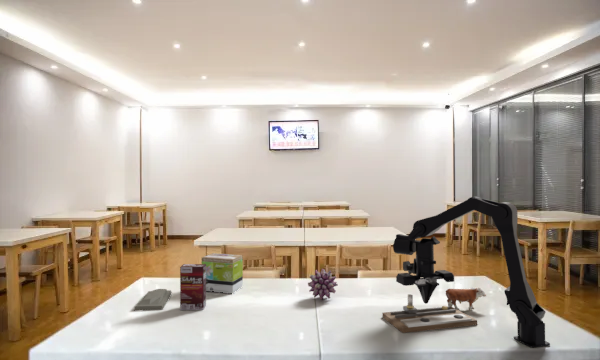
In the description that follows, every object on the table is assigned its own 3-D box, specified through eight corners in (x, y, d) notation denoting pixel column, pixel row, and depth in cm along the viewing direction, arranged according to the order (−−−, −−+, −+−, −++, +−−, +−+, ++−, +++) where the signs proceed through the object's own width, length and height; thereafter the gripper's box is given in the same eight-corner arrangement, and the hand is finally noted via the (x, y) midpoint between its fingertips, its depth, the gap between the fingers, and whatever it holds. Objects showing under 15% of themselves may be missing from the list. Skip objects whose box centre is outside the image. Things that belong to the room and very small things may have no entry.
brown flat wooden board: (477, 324, 122) (477, 315, 122) (402, 333, 116) (402, 323, 116) (450, 310, 135) (450, 302, 135) (382, 317, 129) (382, 308, 129)
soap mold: (133, 312, 138) (133, 302, 138) (147, 296, 158) (147, 287, 158) (162, 310, 140) (162, 301, 140) (173, 295, 160) (172, 286, 160)
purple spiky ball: (343, 301, 146) (343, 270, 147) (314, 305, 142) (314, 273, 142) (330, 293, 157) (329, 264, 157) (303, 297, 153) (302, 267, 153)
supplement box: (179, 310, 138) (179, 266, 138) (183, 306, 143) (183, 263, 143) (203, 310, 138) (203, 266, 138) (206, 305, 143) (206, 263, 143)
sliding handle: (417, 312, 126) (417, 296, 126) (409, 313, 125) (408, 297, 125) (411, 308, 130) (411, 292, 130) (403, 309, 129) (403, 293, 129)
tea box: (200, 291, 162) (200, 256, 162) (212, 285, 172) (212, 252, 172) (232, 294, 158) (232, 258, 158) (243, 287, 167) (243, 254, 167)
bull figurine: (487, 312, 133) (487, 288, 133) (446, 310, 136) (446, 287, 136) (484, 308, 137) (483, 285, 137) (444, 306, 140) (444, 283, 140)
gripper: (435, 251, 138) (436, 294, 138) (388, 254, 134) (389, 298, 134) (454, 256, 128) (455, 303, 128) (404, 260, 123) (404, 308, 123)
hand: (425, 303), depth 128 cm, fingers closed
